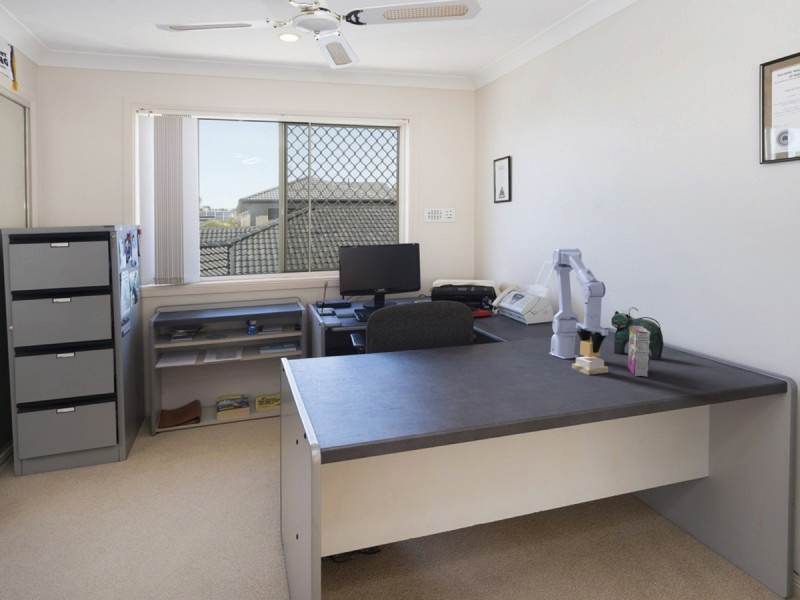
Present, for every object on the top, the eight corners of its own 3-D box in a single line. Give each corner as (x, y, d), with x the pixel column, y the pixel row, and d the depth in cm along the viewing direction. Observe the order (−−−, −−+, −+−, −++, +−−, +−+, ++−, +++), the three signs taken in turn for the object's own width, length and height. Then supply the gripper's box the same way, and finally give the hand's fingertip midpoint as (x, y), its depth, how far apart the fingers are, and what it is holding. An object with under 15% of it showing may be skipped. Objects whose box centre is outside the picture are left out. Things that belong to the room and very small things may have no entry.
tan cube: (579, 354, 195) (580, 341, 194) (590, 352, 197) (591, 339, 196) (589, 357, 190) (589, 344, 189) (600, 356, 192) (600, 342, 191)
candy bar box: (626, 368, 197) (629, 325, 195) (640, 368, 196) (643, 325, 194) (633, 376, 186) (636, 331, 184) (648, 377, 185) (651, 332, 183)
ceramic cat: (608, 353, 220) (611, 306, 217) (614, 350, 224) (616, 304, 221) (659, 361, 207) (663, 311, 204) (664, 358, 212) (667, 309, 209)
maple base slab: (571, 370, 197) (572, 363, 196) (590, 367, 200) (590, 361, 200) (588, 376, 189) (589, 369, 188) (608, 373, 192) (608, 367, 192)
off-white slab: (575, 364, 196) (575, 357, 195) (590, 362, 198) (590, 355, 198) (588, 368, 189) (589, 362, 189) (603, 366, 192) (604, 360, 192)
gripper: (570, 312, 196) (568, 347, 198) (598, 318, 183) (595, 356, 185) (585, 311, 199) (583, 345, 201) (613, 317, 186) (611, 354, 188)
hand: (590, 350), depth 193 cm, fingers closed on tan cube, 5 cm apart
